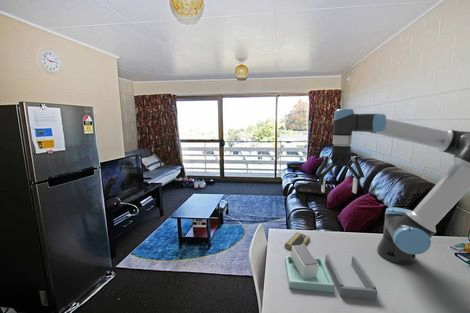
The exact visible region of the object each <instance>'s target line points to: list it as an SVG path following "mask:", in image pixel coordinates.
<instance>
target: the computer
mask: <svg viewBox="0 0 470 313" xmlns="http://www.w3.org/2000/svg"><path fill="white" fill-rule="evenodd" d="M310 239H311V237H310V236H309V235H307V234H305V233H301V232H298V231H296V232H295V233H293V235H292V236H291V237H290V238H289V239H288V240H287V241H286V242H285V243H284V248H285V249H288V250H291V251H292V246H298V245H305V246H307V244H308V243H309V241H310Z"/></svg>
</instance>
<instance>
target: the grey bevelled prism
mask: <svg viewBox="0 0 470 313" xmlns="http://www.w3.org/2000/svg"><path fill="white" fill-rule="evenodd" d="M290 252H291V253H290V256H291V259H292V261H293V262H294V264H295V266H296V268H297V270H298V271H299V273H300V275H301V277H302V279H305V278H313V277H317V272H318V267H319V265H318V263H317V262H316V260H315V259H314V258H315V257H314V256H313V254H312V253H311V252H310V250H309V249H308V247H307V245H298V246H292V250H291V251H290Z"/></svg>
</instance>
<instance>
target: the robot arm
mask: <svg viewBox="0 0 470 313" xmlns="http://www.w3.org/2000/svg"><path fill="white" fill-rule="evenodd" d="M333 117H334V118H333V127H332V128H333V131H332V147H331V148H332V149H331V155H330V156H329V155H324V156H323V161H322V162H321V164H320V165H319V167H318V169H317V171H316V172H315V175H316V177H318V178H319V185H320V186H321V192H322V193H325V191H326V189H325V188H326V175H327V174H328V173H329V172H331V171H332V169H333V168H335V167H343V168H345V167H346V168H347V169H348V170H349V171H350V173H351V174H352V175H353V176H354V177H353V178H352V190H351V192H352V193H354V194H356V195H357V189H358V188H357V187H359V186H360V180H361V179H363V178H365V174H364V171H363V170H362V167H361V165H360V162H359V158H358V156H356V155H354V156H351V152H352V147H351V145H352V141H353V140H352V139H353V138H352V136H353V132H354V133H355V132H359V133H360V132H361V133H362V132H364V133H370V134H376V135H380V136H383V137H388V138H392V139H397V140H402V141H406V142H410V143H413V144H418V145H423V146H427V147H432V148H434V149H435V148H436V149H438V150H439V152H442V153H446V154H449V155H453V161H454V163H453V165H452V166H450V168H449V169H448V171H447V172H446V173H445V174H444V175H443V176H442V177H441V178H440V179H439V180H438V182H437V183H436V184H435V185H434V186H433V187H432V188H431V189H430V191H429V192H428V193H427V195H425V196H424V198H422V200H421V201H420V202H419V203H418V204H417V206H416V207H415V208H414V209H413V210H411V209H407V208H401V207H393V206H392V207H390V206H389V207H387V208H386V209H385V212H384V224H383V231H382V232H383V234H382V237H381V240H380V242H379V243H378V245H377V250H376V251H377V254H378V255H379V256H380V257H382V258H383V259H385V260H387V261H389V262H392V263H395V264H400V265H404V266H405V265H413V264H415V262H416V257H417V255H421V254H424V253H426V252H427V251H428V250H429V249H430V248H431V245H432V244H431V242H432V240H431V239H432V237H433V236H434V235H435V234H437V228H436V225H438V224H439V223H440V221H441V220H442V219H443V218H444V217H446V215H447V213H448V212H450V211H451V209H452V208H454V206H455V205H456V204H457V203H458V202H459V201H460V200H461V199H462V198H463V197H464V196H465V195H466V193H468V191H469V190H470V131H461V130H454V129H447V130H442V129H438V128H432V127H428V126H422V125H417V124H412V123H408V122H403V121H399V120H393V119H388V118H387V116H386V114H384V113H378V112H377V113H355V111H354V109H352V108H340V109H339V108H337V109H336V110H335V111H334V116H333ZM329 161H331V162H330V163H329V164H328V162H329ZM351 161H352V163H353V164H354V167H355V168H356V170H355V169H354V168H353V167H352V165H351V164H350V162H351ZM327 164H328V165H327ZM326 166H327V167H326ZM325 167H326V168H325Z"/></svg>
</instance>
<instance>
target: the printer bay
mask: <svg viewBox="0 0 470 313" xmlns="http://www.w3.org/2000/svg"><path fill="white" fill-rule="evenodd" d="M324 264H325V266H326V269H327V271H328V273H329V275H330V278H331V280H332V282H333V284H334V287H335V289H336V291H337V293H338V295H339V297H340V298H350V299H351V298H352V299H359V300H360V299H361V300H371V301H373V300H374V301H378V300H377V298H378V289H377V287H376V286H375V283H374V282H373V281H372V279H371V278H370V277H369V275H368V274H367V272H366V271H365V269H364V268H363V267H362V265H361V263H360V261H358V259H357V258H356V257H355V256H351V264H350V266H351V268H352V269H353V270H354V272H355V273H356V275H357V276H358V278H359V279H360V281H361V283H362V285H363V287H361V286H360V287H358V286H347V285H344V282H343V281H342V279H341V277H340V275H339V273H338V272H337V269H336V267H335V266H334V263H333V261H332V259H331V257H330V255H329V254H325V260H324Z"/></svg>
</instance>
